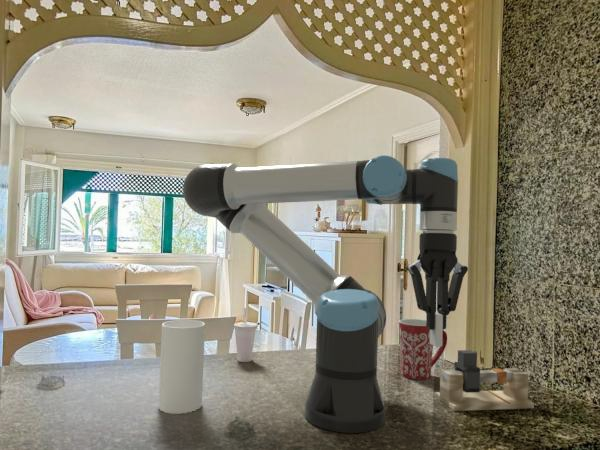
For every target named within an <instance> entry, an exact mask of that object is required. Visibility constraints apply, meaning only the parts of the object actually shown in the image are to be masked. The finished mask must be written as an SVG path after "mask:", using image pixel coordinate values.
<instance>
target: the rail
mask: <svg viewBox="0 0 600 450" xmlns="http://www.w3.org/2000/svg"><path fill="white" fill-rule="evenodd" d="M439 371H440V372H439V373H440V374H439V391H436V392H434V395H435V396H434V397H435V398H436V399H438V400H439V401H440V402H441V403H443V404H444V405H446V407H448V408H449V409H451V410H452V411H453V412H460V411H461V412H463V411H489V410H490V411H491V410H493V411H494V410H520V409H521V410H522V409H535V403H534V402H533V401H531V400H529V399H528V398H529V394H528V393H529V373H527V372H525V371H523V370H521V369H519V368H516V367H512V368H509V367H508V368H503V369H502V368H500V367H499V368H497V367H495V368H491V369H480V383H481V384H482V383H485V384H486V383H487V384H488V383H496V384H497V385H503V390H480V392H465V391H463V383H464V374H465V371H455V370H454V368H453V369H452V368H451V369H449V368H448V369H446V368H445V369H443V368H442V369H440V370H439Z"/></svg>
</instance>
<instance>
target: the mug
mask: <svg viewBox="0 0 600 450" xmlns="http://www.w3.org/2000/svg"><path fill="white" fill-rule="evenodd" d="M398 325H399V348H400V373H401V376H402V377H404V378H407V379H411V380H419V381H421V380H428V379H430V378H431V376H432V368H433V366H434V365H436V363H437V362H438V361H439V359H440V358H441V357H442V355H443V353H444V351H445V349H446V347H447V345H448V334H447V332H446V331H445V329H443V335H442V347H439V348H438V350H437V351H436V353H435V354H434V356H433V349H434V346H433V345H431V344H430V329H428V328H427V326H426V319H419V318H404V319H400V320H398Z"/></svg>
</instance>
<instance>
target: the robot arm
mask: <svg viewBox="0 0 600 450" xmlns="http://www.w3.org/2000/svg"><path fill="white" fill-rule="evenodd" d="M458 174H459V173H458V164H457V161H455V160H454V159H453V158H448V157H447V158H446V157H434V158H426V159H424V160H422V161H421V163H420V167H419V168H416V169H415V168H414V169H413V168H412V169H409V168H408V169H405V167H404V165H403V164H402V163H401V162H400V161H399V160H397V159H396V158H395V157H393V156H391V155H378V156H375V157H373V158H372V159H369V160H368V159H367V160H353V161H351V160H350V161H349V160H347V161H333V162H332V161H331V162H318V163H317V162H316V163H302V164H300V163H299V164H287V165H286V164H284V165H281V164H280V165H269V166H266V165H265V166H252V167H249V166H248V167H239V166H238V165H237V164H235V163H214V164H213V163H206V164H200V165H198V166H196V167H194V168H193V169H192V170H190V172H189V173H188V174H187V176H186V177H185V179H184V182H183V186H182V195H183V197H184V201H185V203H186V204H187V206H188V207H189V208H190V209H191V210H192V211H193V212H195V213H196V214H198V215H201V216H203V217H208V218H209V217H210V218H215V219H216V220H218V221H219V223H220V224H222V225H223V226H224V227H225V228H226V229H227V230H228V231H229V232H230V233H232V234H241V235H242V236H244V238H245V239H247V240H248V241H249V242H250V244H252V245H253V246H254V247H255V248H256V249H257V250H258V251H259V252H260V253H261V254H262V255H263V256H264V257H265V258H267V260H268V261H269V262H271V263H272V264H273V266H275V268H277V269H278V270H279V271H280V272H281V273H282V274H283V275H284V276H285V277H286V278H288V280H289V281H290V282H291V283H293V284H294V285H295V287H297V289H299V290H300V291H301V292H302V293H303V294H304V295H305V296H306V297H307V298H308V299H309V300H310V301H311V302H312V303H313V306H314V307H313V308H314V309H313V310H314V314H315V315H316V338H315V339H316V344H315V372H314V373H315V374H314V376H313V379H312V382H311V385H310V388H309V391H308V392H307V393H308V394H307V396H306V399H305V402H304V403H305V404H304V417H305V419H306V420H307V421H308V422H309V423H310V424H312V425H314V426H316V427H318V428H321V429H324V430H327V431H332V432H337V433H348V434H357V433H358V434H359V433H360V434H361V433H367V432H372V431H375V430H377V429H379V428H381V427H382V426H383V425H384V424H385V421H386V407H385V406H386V405H385V403H384V400H383V396H382V393H381V389H380V386H379V382H378V376H377V373H378V345H379V343H378V341H379V337H380V336H381V335H382V334H383V332H384V330H385V327H386V324H387V312H386V309H385V305H384V302H383V301H382V300H381V299H380V297H379V296H378V295H377V294H376V293H374V292H373V291H371V290H369V289H368V288H367V289H366V288H364V287H363V285H361V284H360V283H359V282H358V280H356V279H355V278H353V277H352V275H350V274H345V275H342V274H339V273H338V272H337V271H336V270H335V269H334V268H333V267H332V266H331V265H329V264H328V262H326V261H325V260H324V259H323V258H322V257H321V256H320V255H319V254H318V253H317V252H315V251H314V250H313V249H312V248H311V247H310V246H309V245H308V244H307V243H306V242H305V241H304V240H302V239H301V238H300V237H299V236H298V235H297V234H296V233H295V232H294V231H292V230H291V228H289V226H287V225H286V224H285V223H284V222H283V221H282V220H281V219H280V218H279V217H277V216H276V215H275V214H274V213H273V212H272V211H271V210H270V209H269V208H268V207H267V204H279V203H282V204H283V203H306V202H326V201H327V202H328V201H349V200H351V201H352V200H364V202H365V203H367V204H369V205H370V204H371V205H372V204H373V205H380V206H381V205H419V206H420V208H419V209H420V211H419V212H420V213H419V230H420V231H422V233H421V232H420V234H419V245H418V247H419V254H418V256H417V260H416V261H415V262H413V263H412V264H407V266H406V269H407V272H408V273H409V274H410V275H411V276H410V277H411V281H412V282H411V283H412V286H413V291H414V296H415V301H416V306H417V309H418V310H420V311H424V312H425V314H426V317H425V318H426V319H425V320H426V326H427V328H428V329H430V344H431V345H433V347H435V348H437V347H439V348H440V347H442V335H443V330H446V328H447V316H448V315H450V313H451V312H455V311H456V309H457V305H458V301H459V297H460V293H461V288H462V285H463V280H464V277H465V275H466V274H467V272H468V271H469V268H468V266H466V265H463V264H461V263H460V262H459V261H458V260H459V259H458V257H457V255H456V253H457V246H458V244H457V243H458V241H457V239H458V236H457V233H454V232H456V231H457V230H458V229H457V228H458V227H457V226H458V195H459V194H458V192H459V191H458V189H459V188H458V187H459V178H458V177H459V176H458ZM422 271H423V272H424V274H425V275H424V279H425V287H424V281H423V277H422V273H421V272H422ZM452 271H453V273H452V275H451V280H450V274H451V272H452ZM449 283H450V284H449Z"/></svg>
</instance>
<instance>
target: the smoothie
mask: <svg viewBox="0 0 600 450" xmlns="http://www.w3.org/2000/svg"><path fill="white" fill-rule="evenodd" d="M246 319H247V307H243V322H241V321H240V322H236V323H234V324H233V329H234V334H235V346H236V347H235V348H236V359H237V362H240V363H247V362H248V363H249V362H251V361H252V357H253V351H254V346H255V345H254V344H255V338H256V333H257V329H258V324H257V323H255V322H249V321H247V320H246Z"/></svg>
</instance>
